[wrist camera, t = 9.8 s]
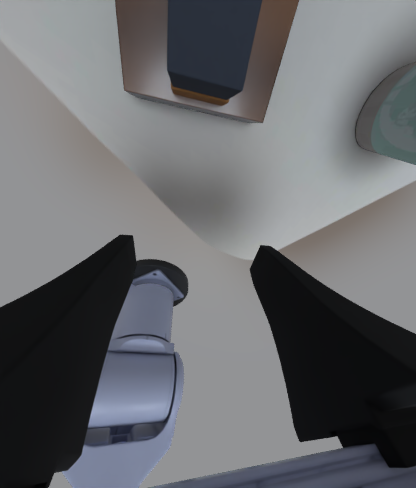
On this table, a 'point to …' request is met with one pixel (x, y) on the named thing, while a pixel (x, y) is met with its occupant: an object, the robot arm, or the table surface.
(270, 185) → the table surface
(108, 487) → the robot arm
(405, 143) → the coffee cup
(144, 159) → the table surface
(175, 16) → the cube on wooden base
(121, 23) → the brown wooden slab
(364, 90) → the table surface
